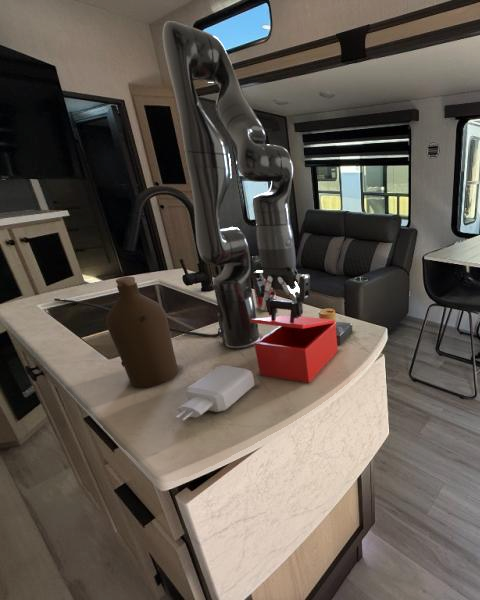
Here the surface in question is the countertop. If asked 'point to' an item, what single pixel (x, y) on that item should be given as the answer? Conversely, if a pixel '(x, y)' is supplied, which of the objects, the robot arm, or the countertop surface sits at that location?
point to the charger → (216, 391)
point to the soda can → (261, 301)
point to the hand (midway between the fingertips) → (285, 315)
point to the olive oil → (141, 336)
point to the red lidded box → (296, 351)
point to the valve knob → (327, 314)
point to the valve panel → (343, 331)
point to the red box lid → (290, 317)
